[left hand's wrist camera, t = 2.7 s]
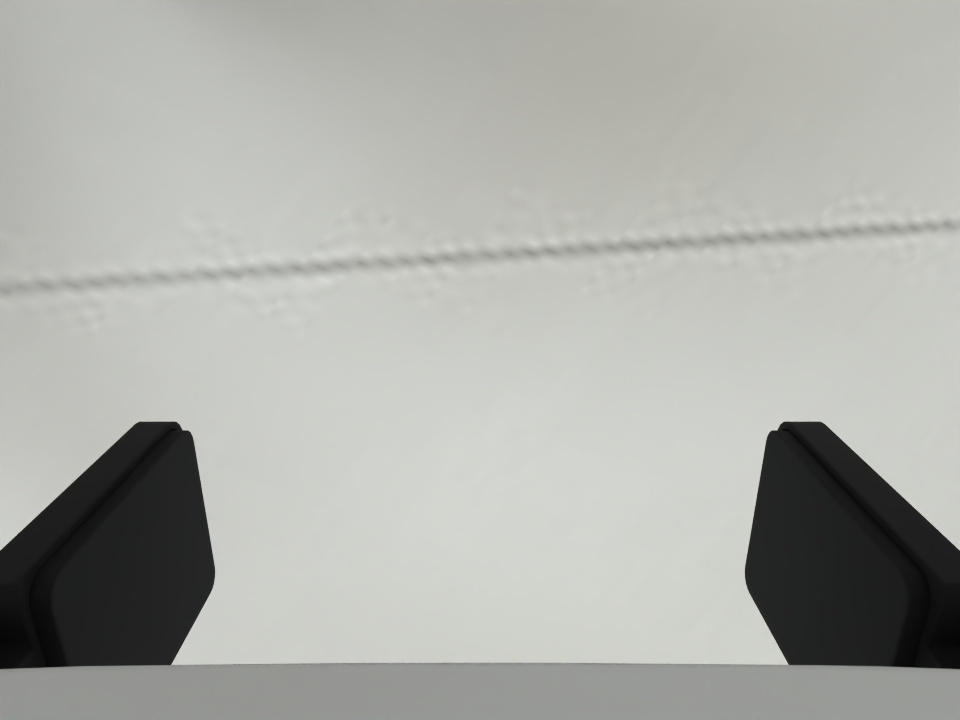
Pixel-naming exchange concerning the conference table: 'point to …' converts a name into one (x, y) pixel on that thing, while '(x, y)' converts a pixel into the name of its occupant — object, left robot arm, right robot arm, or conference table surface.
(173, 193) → the conference table surface
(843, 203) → the conference table surface
